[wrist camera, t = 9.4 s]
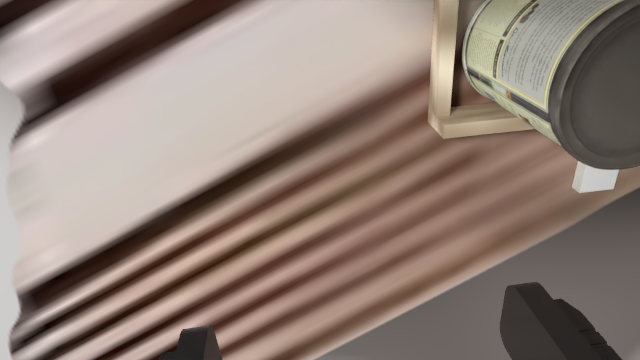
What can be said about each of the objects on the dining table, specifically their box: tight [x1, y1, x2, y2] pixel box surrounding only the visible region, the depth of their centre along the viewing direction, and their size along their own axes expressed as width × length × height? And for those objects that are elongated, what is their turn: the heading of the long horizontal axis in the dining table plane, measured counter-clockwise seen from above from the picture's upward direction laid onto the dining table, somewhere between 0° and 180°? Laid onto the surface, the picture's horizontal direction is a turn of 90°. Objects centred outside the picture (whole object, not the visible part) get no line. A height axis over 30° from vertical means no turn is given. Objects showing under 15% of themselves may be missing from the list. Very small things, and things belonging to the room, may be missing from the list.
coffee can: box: [462, 0, 640, 170], centre depth 30 cm, size 10×10×14 cm
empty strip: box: [572, 161, 619, 193], centre depth 37 cm, size 22×4×5 cm, turn 4°
